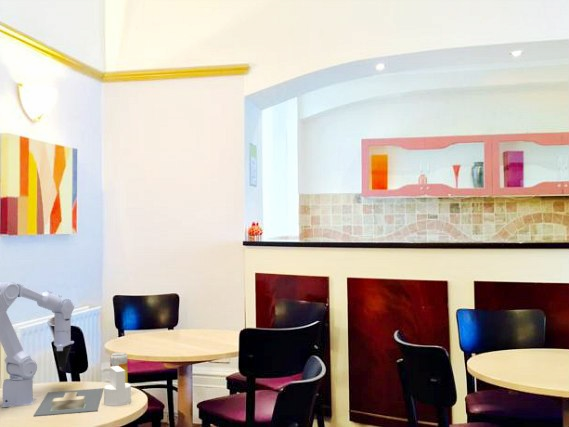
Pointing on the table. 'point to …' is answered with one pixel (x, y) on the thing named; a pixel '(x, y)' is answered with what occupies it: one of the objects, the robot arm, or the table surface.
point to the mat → (90, 406)
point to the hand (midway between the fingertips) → (62, 366)
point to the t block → (68, 401)
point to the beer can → (119, 362)
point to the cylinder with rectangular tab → (117, 388)
